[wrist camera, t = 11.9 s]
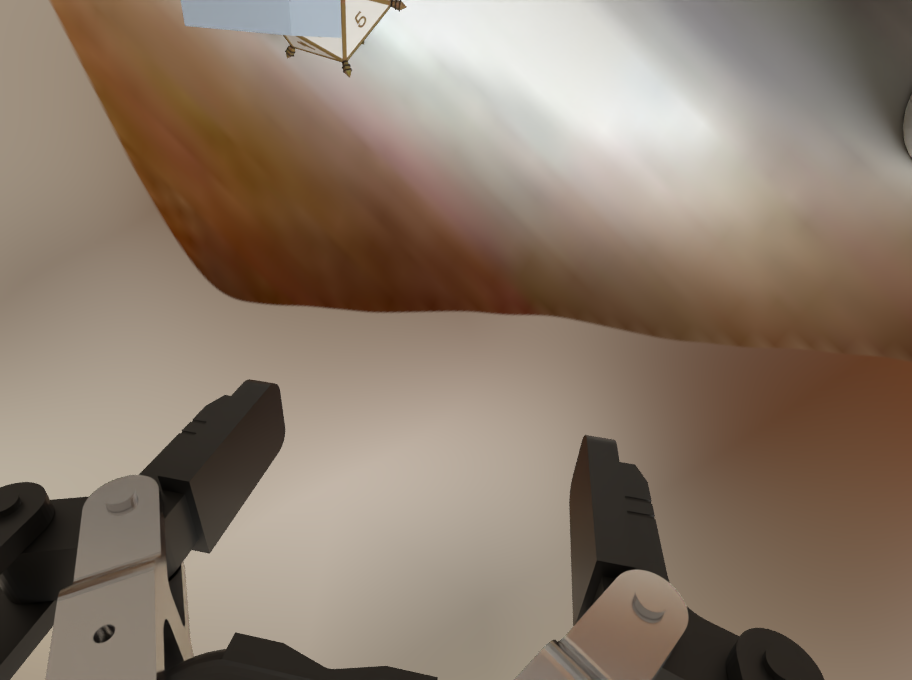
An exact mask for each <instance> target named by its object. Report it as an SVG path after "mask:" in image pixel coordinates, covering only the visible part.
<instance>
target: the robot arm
mask: <svg viewBox="0 0 912 680" xmlns="http://www.w3.org/2000/svg"><path fill="white" fill-rule="evenodd" d="M903 134H904V142H905V145H906V147H907V150H908V152H909V155H910V156H911V157H912V94H911V96H910V99H909V102H908V105H907V107H906V110H905V116H904V123H903ZM284 437H285V423H284V416H283V409H282V402H281V395H280V389H279V386H278V385H277V384H274V383H268V382H262V381H256V380H246V381H245V382H244V383H243V384H242V385H241V386H240V387H239V388H238V389H237V390H236V391H235V392H234V393H233V395H232V396H228V395H224V396H222V397H221V398H219V399H217V400H215V401H213V402H212V403H210V404H208V405H206V406H205V407H204V408H203V409H202V410H201V411H200V412H199V413H198V414H197V415H196V417H195V418H194V419H193V421H192V422H190V423H189V424H188V425H187V426H186V427H185V428H184V429H183V430H182V433H179V434H178V435H177V436H176V437H175V438H174V439H173V440H172V441H171V442H170V443H169V444H168V446H166V447H165V448H164V449H163V450H162V452H161V453H160V454H159V455H158V456H157V457H156V458H155V459H154V460H153V461H152V462H151V463H150V464H149V465H148V466H147V467H146V468H145V469H144V470H143V471H142V472H141V473H140V474H139V475H130V476H125V477H121V478H117V479H115V480H112V481H110V482H108V483H106V484H104V485H103V486H101V487H100V488H98V489H97V490H96V491H94V492H93V493H92V494H91V495H90V496H89V497H80V498H68V499H57V500H49V497H48V495H47V493H46V491H45V489H44V488H43V487H42V486H41V485H39V484H35V483H30V482H22V483H15V484H11V485H6V486H4V487H1V488H0V680H10V679H11V678H12V676H13V675H14V674H15V673H16V671H17V670H18V669H19V668H20V666H21V665H22V664H23V663H24V661H25V660H26V659H27V657H28V656H29V655H30V654H31V653H32V651H33V650H34V649H35V648H36V646H37V645H38V644H39V643H40V641H41V640H42V639H43V638H44V636H45V635H46V634H47V633H48V631H49V630H50V629H51V628H52V626H53V632H52V639H51V646H50V653H49V659H48V666H47V673H46V680H437V677H433V676H429V675H424V674H420V673H415V672H411V671H406V670H402V669H397V668H393V667H388V666H378V667H364V668H347V669H328V668H325V667H323V666H322V665H320V664H318V663H316V662H315V661H313V660H311V659H309V658H308V657H306V656H304V655H303V654H301V653H299V652H298V651H296V650H294V649H292V648H291V647H289V646H287V645H286V644H284V643H280V642H276V641H271V640H267V639H262V638H258V637H253V636H249V635H244V634H240V633H235V634H234V636H233V638H232V640H231V642H230V644H229V645H228V647H227V649H223V650H217V651H212V652H208V653H204V654H201V655H198V656H195V657H194V654H193V650H192V645H191V638H190V629H189V615H188V601H187V588H186V575H185V566H184V562H183V560H184V559H185V558H186V557H187V555H188V554H189V552H190V551H191V550H195V551H200V552H205V553H210V552H211V551H212V549H213V548H214V546H215V545H216V543H217V542H218V541H219V539H220V538H221V536H222V535H223V533H224V532H225V530H226V529H227V527H228V526H229V524H230V523H231V522H232V520H233V519H234V517H235V516H236V514H237V513H238V511H239V510H240V508H241V507H242V505H243V504H244V502H245V501H246V500H247V498H248V497H249V495H250V494H251V492H252V490H253V489H254V488H255V486H256V485H257V483H258V482H259V480H260V479H261V478H262V476H263V475H264V473H265V472H266V470H267V469H268V467H269V466H270V464H271V463H272V461H273V460H274V458H275V457H276V456H277V454H278V452H279V451H280V449H281V447H282V444H283V441H284ZM569 503H570V505H569V506H570V537H571V567H572V600H573V627H572V629H571V630H570V631H569V632H568V633H567V634H566V635H565V636H564V637H563V638H562V639H561V640H560V641H558V642H557V641H556V640H552V641H551V642H549V643H548V644H547V645H546V646H544V647H543V648H542V649H541V651H540V652H539V653H538V654H537V655H536V656H535V657H534V658H533V659H532V660H531V661H530V663H529V664H528V665H527V666H526V667H525V668H524V669H523V670H522V671H521V673H520V674H519V675H518V676H517V677H516V678H515V679H514V680H824V678H823V675H822V673H821V671H820V670H819V668H818V666H817V665H816V664H815V662H814V661H813V660H812V658H811V657H810V656H809V655H808V654H807V653H806V652H805V651H804V650H803V649H802V648H801V647H800V646H799V645H797V644H796V643H795V642H793V641H792V640H791V639H789V638H787V637H786V636H784V635H782V634H780V633H777V632H776V631H772V630H769V629H764V628H753V629H749V630H747V631H745V632H743V633H742V634H741V636H740V637H739V636H737V635H735V634H733V633H731V632H729V631H727V630H725V629H723V628H721V627H719V626H717V625H715V624H713V623H711V622H709V621H707V620H705V619H703V618H702V617H700V616H698V615H697V614H696V613H694V612H693V611H692V610H690V609H689V608H688V607H687V606H686V604H685V602H684V600H683V598H682V597H681V595H680V594H679V592H678V591H677V590H676V589H675V588H674V587H673V586H672V585H671V584H670V582H669V579H668V576H667V572H666V567H665V563H664V558H663V553H662V549H661V544H660V539H659V534H658V529H657V525H656V520H655V519H654V516H655V515H654V511H653V506H652V504H651V496H650V492H649V487H648V482H647V481H646V479H645V478H644V477H643V475H642V474H641V472H640V471H639V470H638V468H637V467H636V465H634V464H628V463H621V462H619V456H618V450H617V444H616V441H615V440H612V439H606V438H600V437H594V436H588V435H585V436H584V437H583V440H582V443H581V447H580V451H579V455H578V458H577V462H576V466H575V470H574V474H573V478H572V482H571V489H570V502H569Z"/></svg>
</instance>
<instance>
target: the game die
mask: <svg viewBox="0 0 912 680" xmlns="http://www.w3.org/2000/svg"><path fill="white" fill-rule="evenodd" d="M390 7H393V8H395V10H396V9H397V10H399V11H400V10H402V9H404V8H406V6H405V5H404V4H403V3H402V2H401V0H400V1H398V0H340V9H341V38H335V37H311V36H290V35H283V36H284V37H285V39H286V40H287V41H288V43H289V44H290V46H288V48H287V50H286V51H285V52H286V55H287V58H289V57H291V56H294V53H295V48H296V49H300V50H303V51H306V52H310V53H313V54H316V55H319V56H323V57H326V58H329V59H333V60H336V61H339V62H342V64H343V67H342V68H343V72H344V73H345V74H346V75H347V76H349V77H350V75H351V71H352V69H351V68H350V67H351V66H350V64H348V60H349V59H350V57H351V56H352V55H353V54H354V52H355V51H356V50H357V49H358V47H359V46H360V45H361V44H364V40H365V39H366V37H367V36H368V35H369V34H370V32H371V31H372V30H373V29H374V27H375V26H376V25H377V24H378V22H379V21H380V20H381V19H382V17H383V16H384V15H385V14H386V12H387V11H388V10H389V9H390Z"/></svg>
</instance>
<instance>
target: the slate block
mask: <svg viewBox="0 0 912 680" xmlns="http://www.w3.org/2000/svg"><path fill="white" fill-rule="evenodd" d="M181 5H182V11H183V17H184V23H185V26H192V27H203V28H214V29H224V30H235V31H246V32H257V33H268V34H279V35H290V36H311V37H335V38H341V9H340V0H181Z"/></svg>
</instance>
